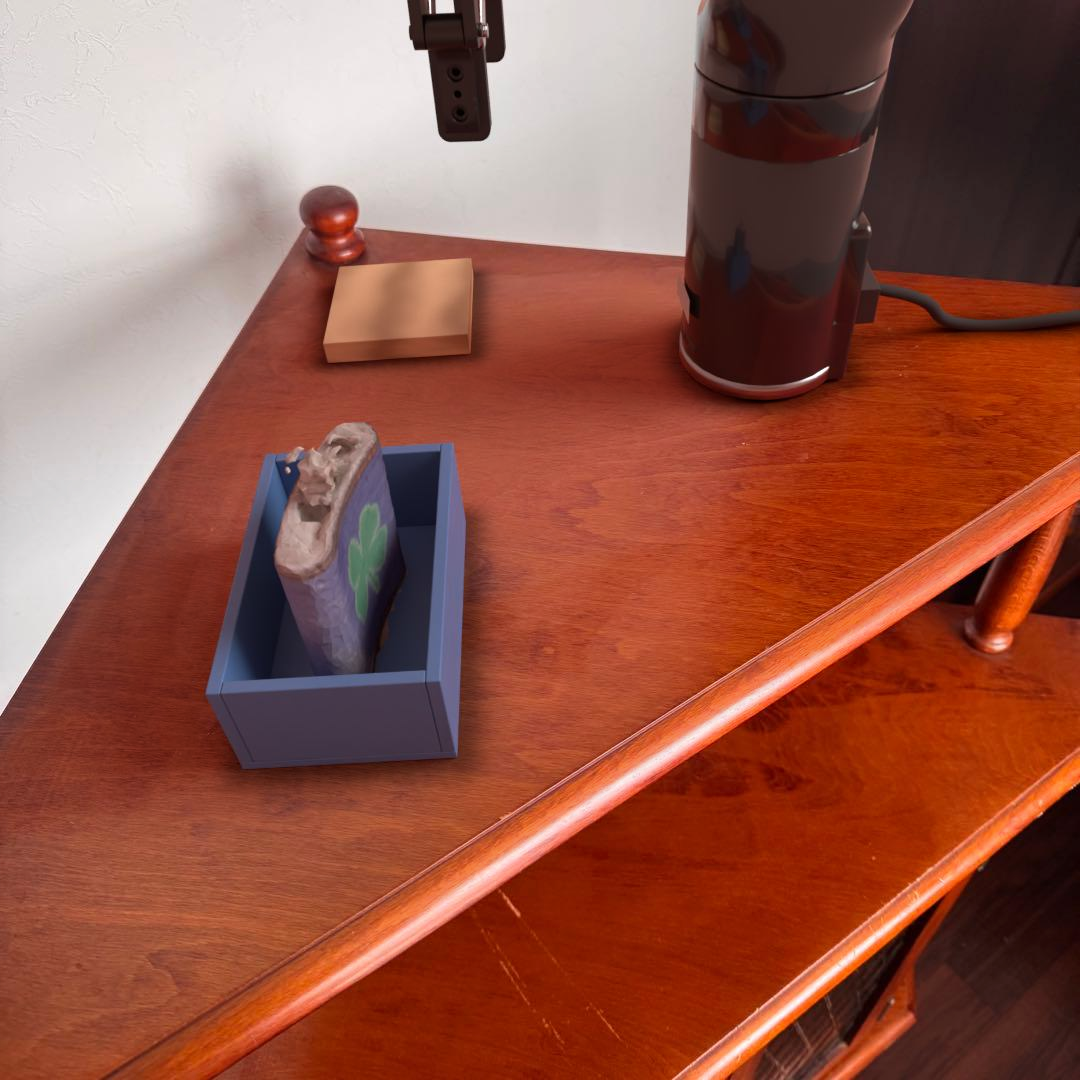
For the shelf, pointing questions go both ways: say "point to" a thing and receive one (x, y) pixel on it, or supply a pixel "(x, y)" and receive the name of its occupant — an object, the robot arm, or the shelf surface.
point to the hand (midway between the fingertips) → (475, 96)
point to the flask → (341, 551)
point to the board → (400, 311)
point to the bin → (403, 663)
